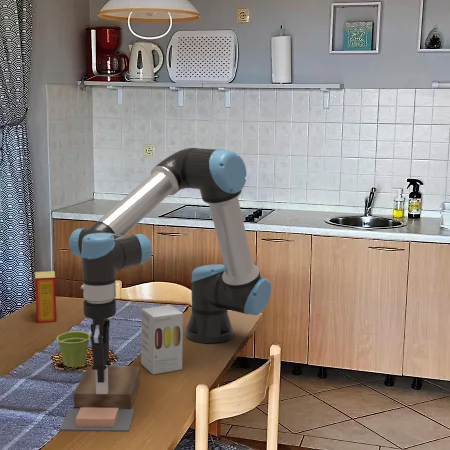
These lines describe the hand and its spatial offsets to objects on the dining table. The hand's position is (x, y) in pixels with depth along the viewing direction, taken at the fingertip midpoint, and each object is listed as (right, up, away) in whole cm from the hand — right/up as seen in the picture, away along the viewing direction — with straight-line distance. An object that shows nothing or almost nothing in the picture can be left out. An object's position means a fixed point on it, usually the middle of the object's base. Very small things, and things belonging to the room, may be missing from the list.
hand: (102, 392), depth 168 cm
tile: (0, -4, -5) cm, 6 cm away
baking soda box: (-32, +8, +73) cm, 80 cm away
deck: (0, -3, +12) cm, 12 cm away
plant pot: (-13, 0, +30) cm, 33 cm away
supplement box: (+12, 0, +30) cm, 32 cm away
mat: (0, -6, -3) cm, 6 cm away
